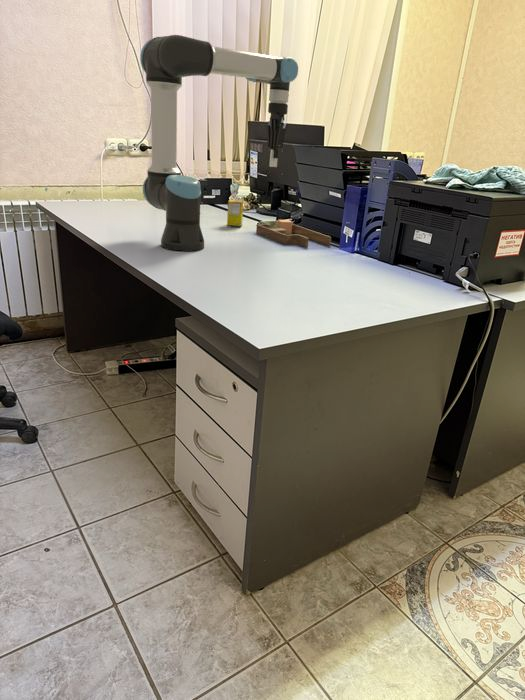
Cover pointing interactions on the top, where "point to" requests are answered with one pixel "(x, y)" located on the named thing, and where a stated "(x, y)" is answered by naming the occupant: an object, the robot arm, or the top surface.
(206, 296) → the top surface
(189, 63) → the robot arm
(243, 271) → the top surface
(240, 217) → the supplement box
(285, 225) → the terracotta block
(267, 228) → the trap lane
